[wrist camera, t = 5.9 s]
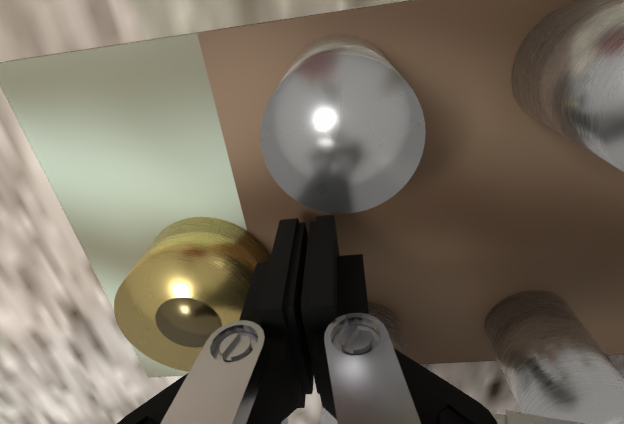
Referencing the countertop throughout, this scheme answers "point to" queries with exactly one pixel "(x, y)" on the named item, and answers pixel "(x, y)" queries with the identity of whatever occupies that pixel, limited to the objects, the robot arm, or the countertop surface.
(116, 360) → the countertop surface
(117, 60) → the board
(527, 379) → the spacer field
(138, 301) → the brass knob
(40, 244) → the countertop surface
